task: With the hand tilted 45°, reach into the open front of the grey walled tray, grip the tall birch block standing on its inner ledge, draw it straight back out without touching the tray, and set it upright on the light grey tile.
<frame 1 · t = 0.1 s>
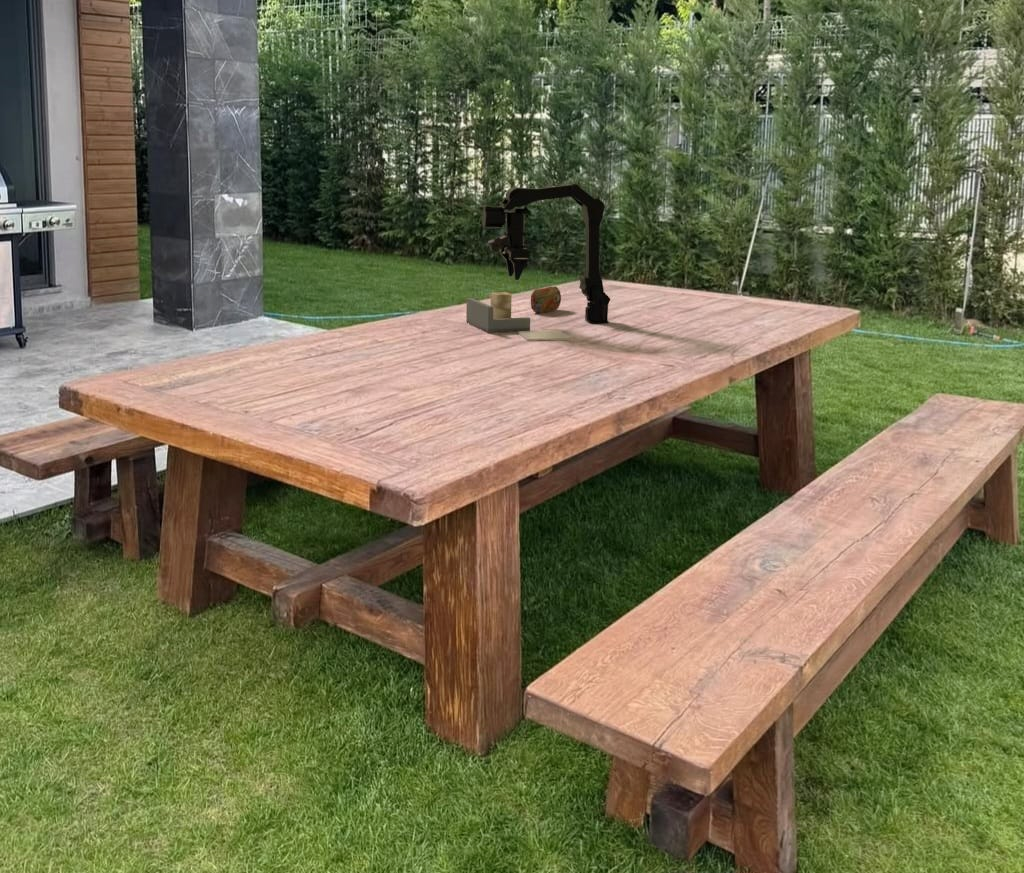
hand: (513, 277, 353), 15 cm above the table, tool pointing down, fingers open, 9 cm apart
block: (500, 318, 349), point 2 cm above the table, touching grey walled tray
grey walled tray: (497, 326, 350), on the table
tin: (545, 312, 381), on the table
tile: (543, 336, 335), on the table
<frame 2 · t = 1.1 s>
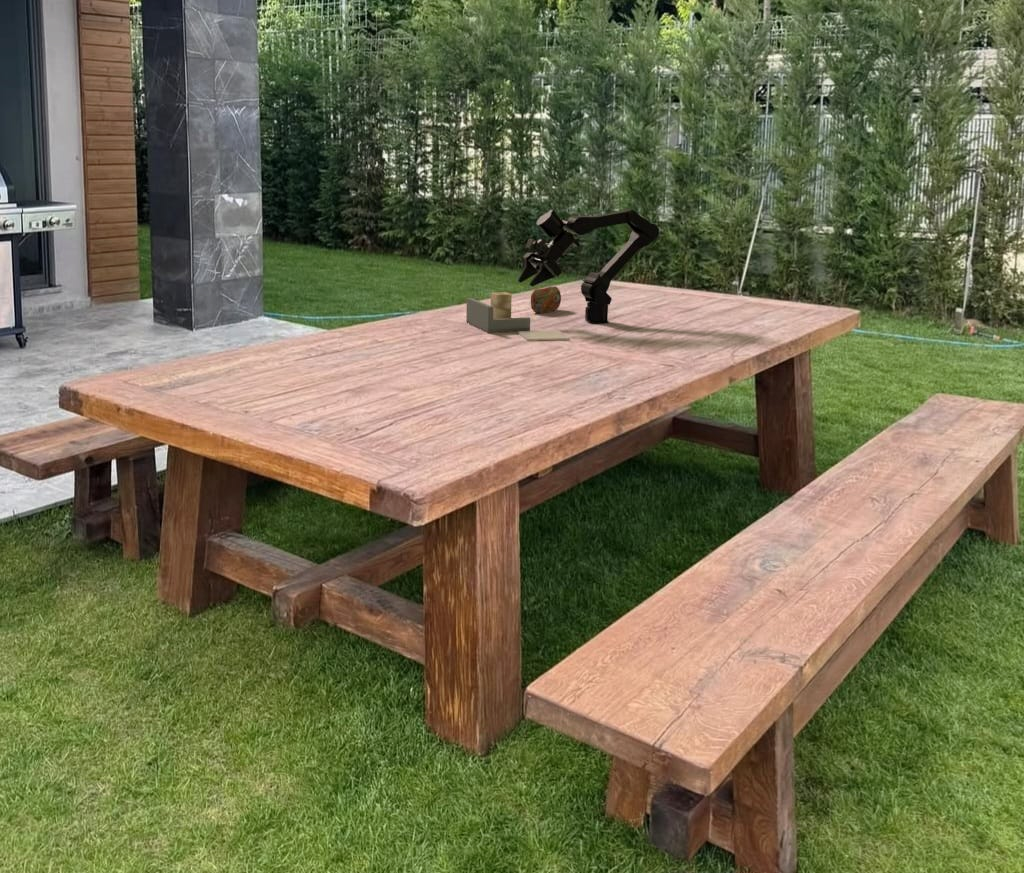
hand: (524, 283, 349), 13 cm above the table, tool tilted 45°, fingers open, 9 cm apart
nothing on the table moved.
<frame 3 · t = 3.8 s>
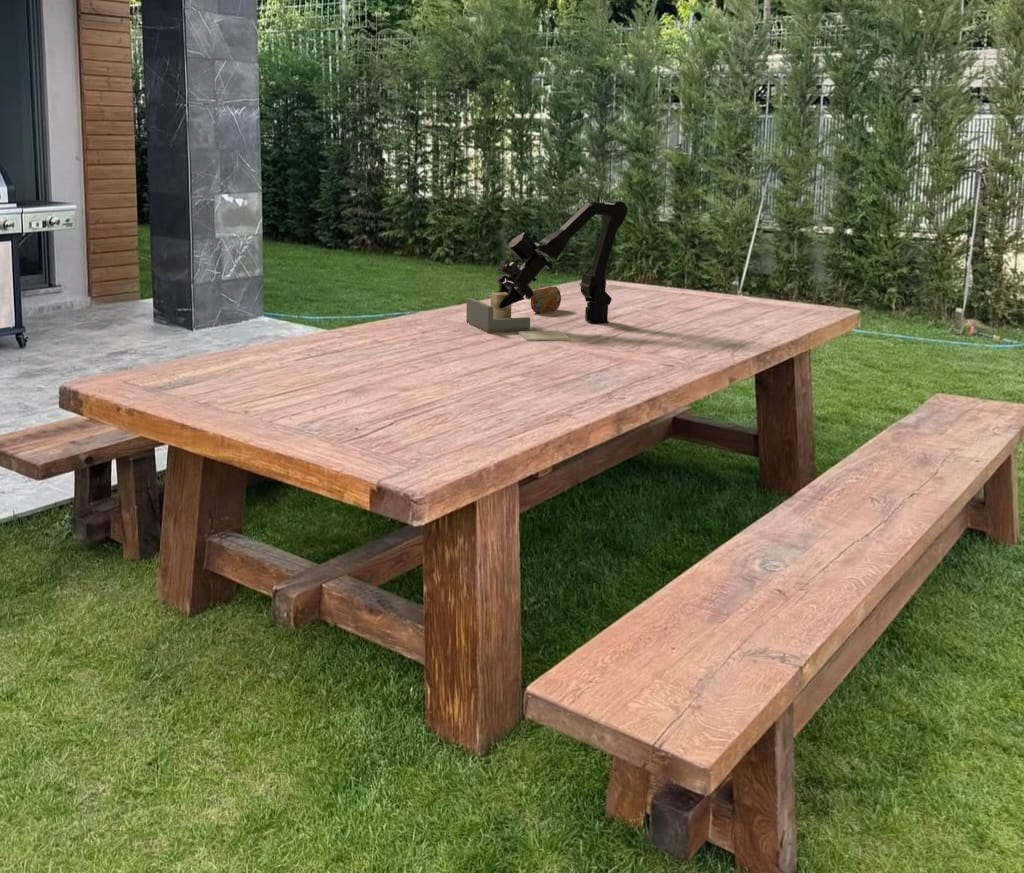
hand: (496, 306, 348), 7 cm above the table, tool tilted 45°, fingers closed on block, 5 cm apart
block: (500, 318, 349), point 2 cm above the table, touching grey walled tray, gripper
everything else where it was.
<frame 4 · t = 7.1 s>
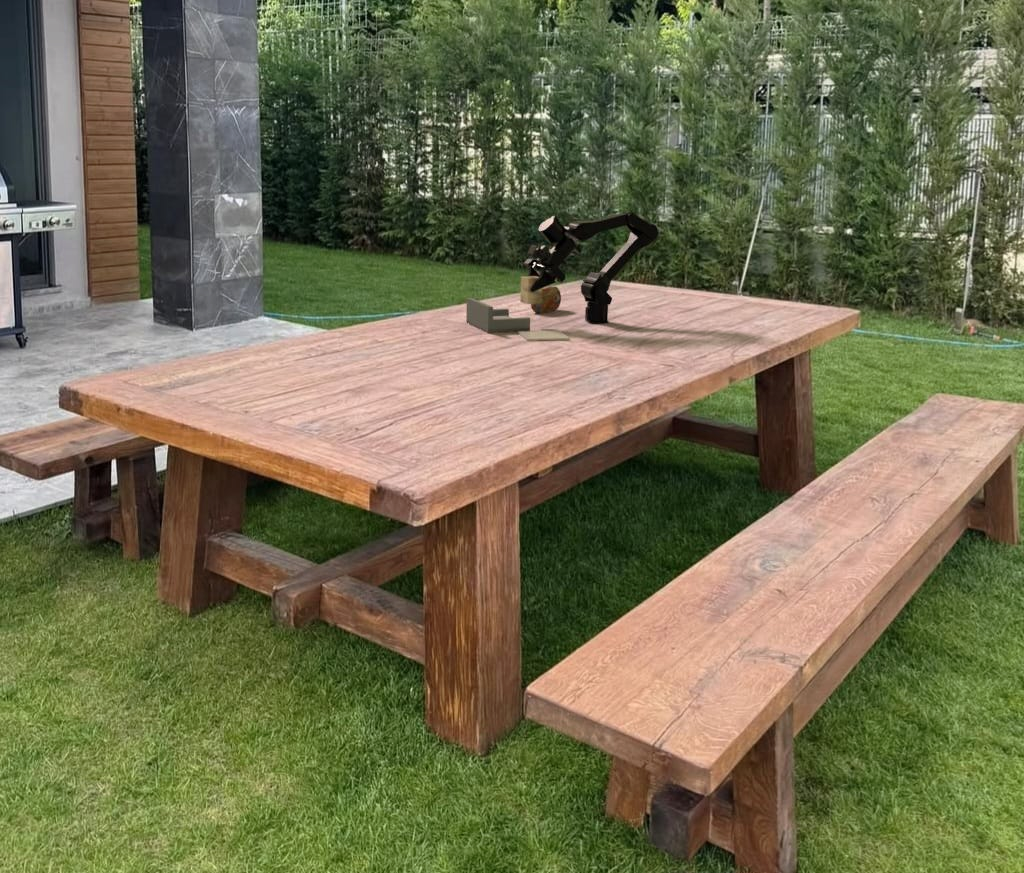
hand: (527, 289, 349), 12 cm above the table, tool tilted 45°, fingers closed on block, 5 cm apart
block: (531, 302, 350), point 8 cm above the table, touching gripper
everything else where it was.
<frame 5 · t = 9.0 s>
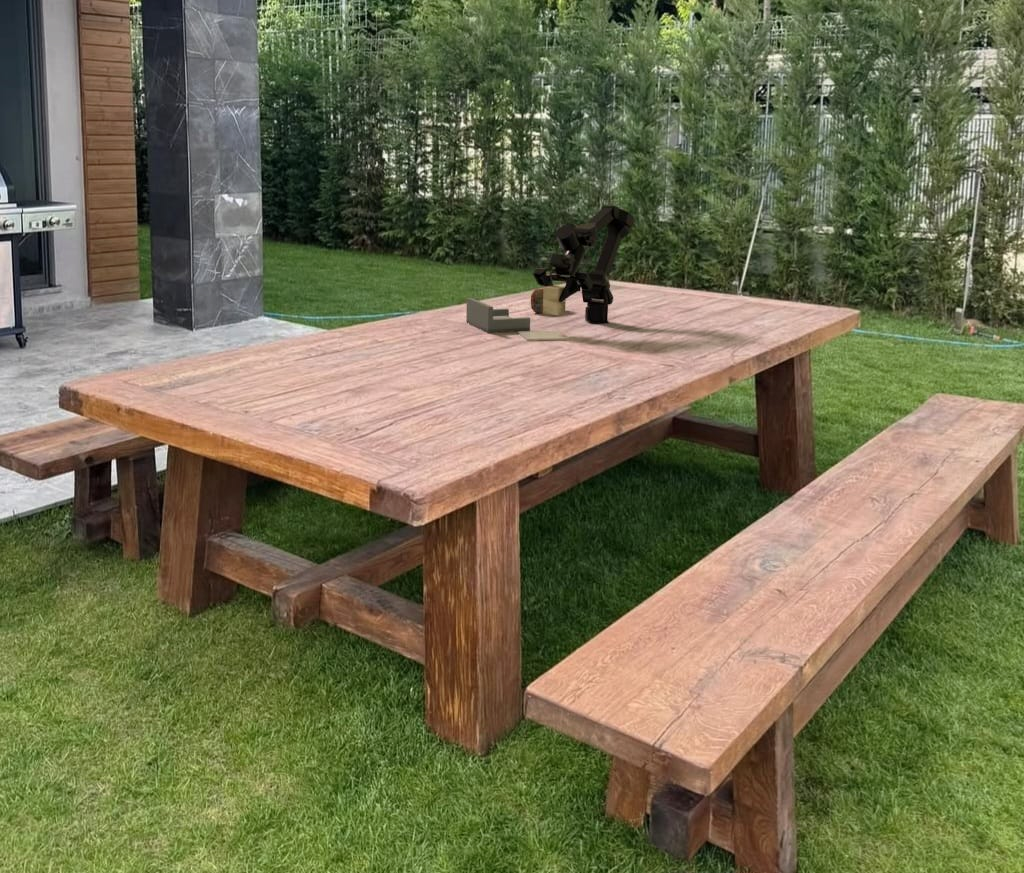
hand: (552, 300, 336), 10 cm above the table, tool tilted 45°, fingers closed on block, 5 cm apart
block: (553, 313, 338), point 6 cm above the table, touching gripper
everything else where it was.
when the fingers open (6 cm above the table, at t = 10.6 s): block drops 2 cm, resting on tile.
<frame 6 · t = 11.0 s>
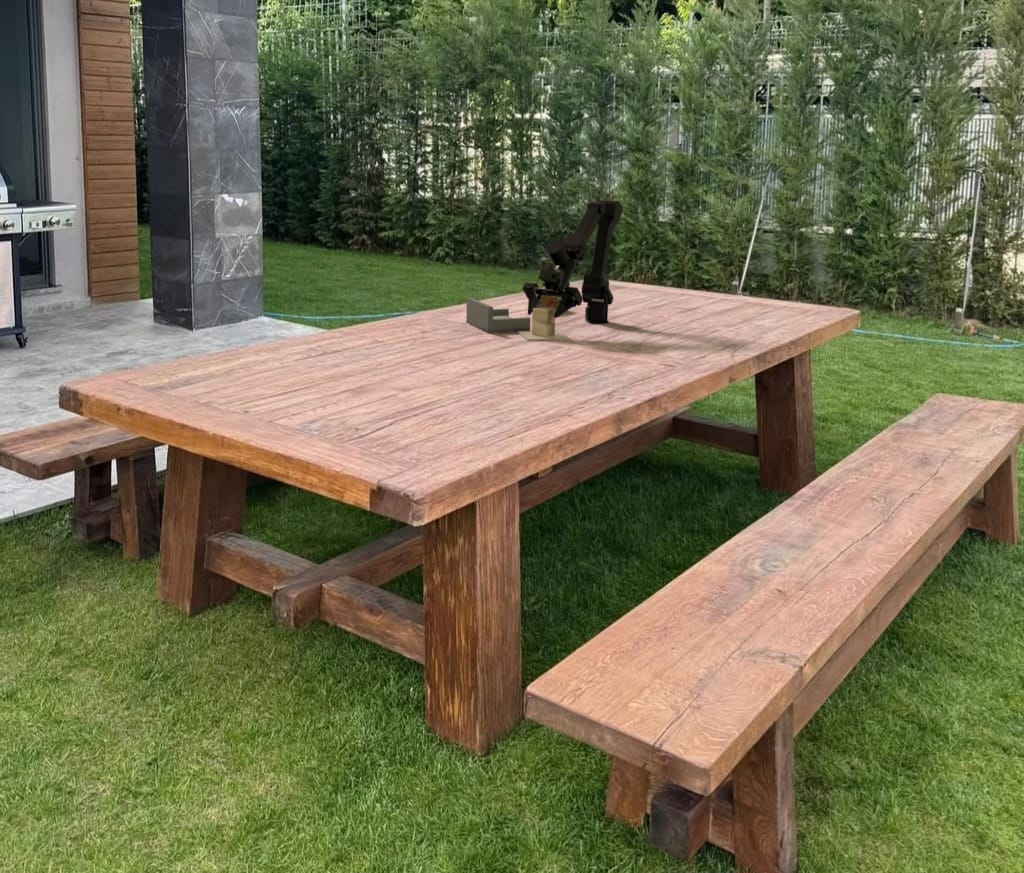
hand: (541, 315, 332), 7 cm above the table, tool tilted 45°, fingers open, 9 cm apart
block: (543, 334, 335), point 1 cm above the table, touching tile
everything else where it was.
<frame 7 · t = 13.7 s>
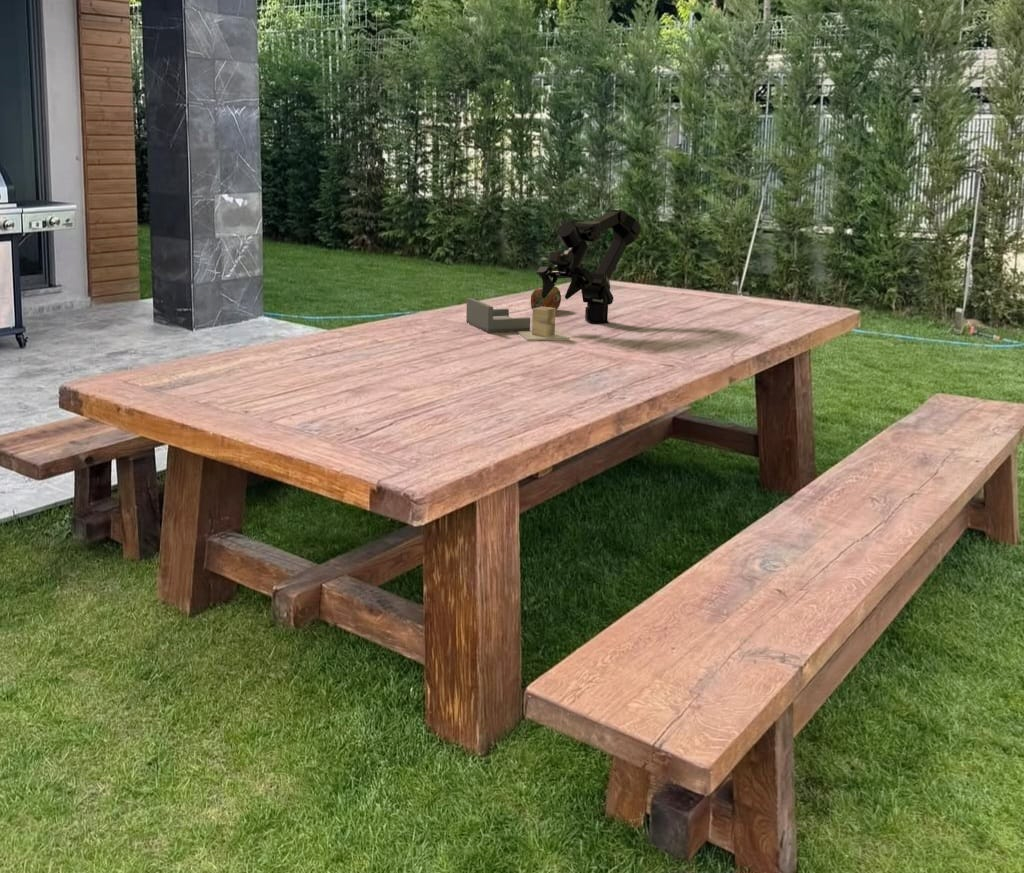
hand: (554, 297, 340), 11 cm above the table, tool tilted 40°, fingers open, 9 cm apart
nothing on the table moved.
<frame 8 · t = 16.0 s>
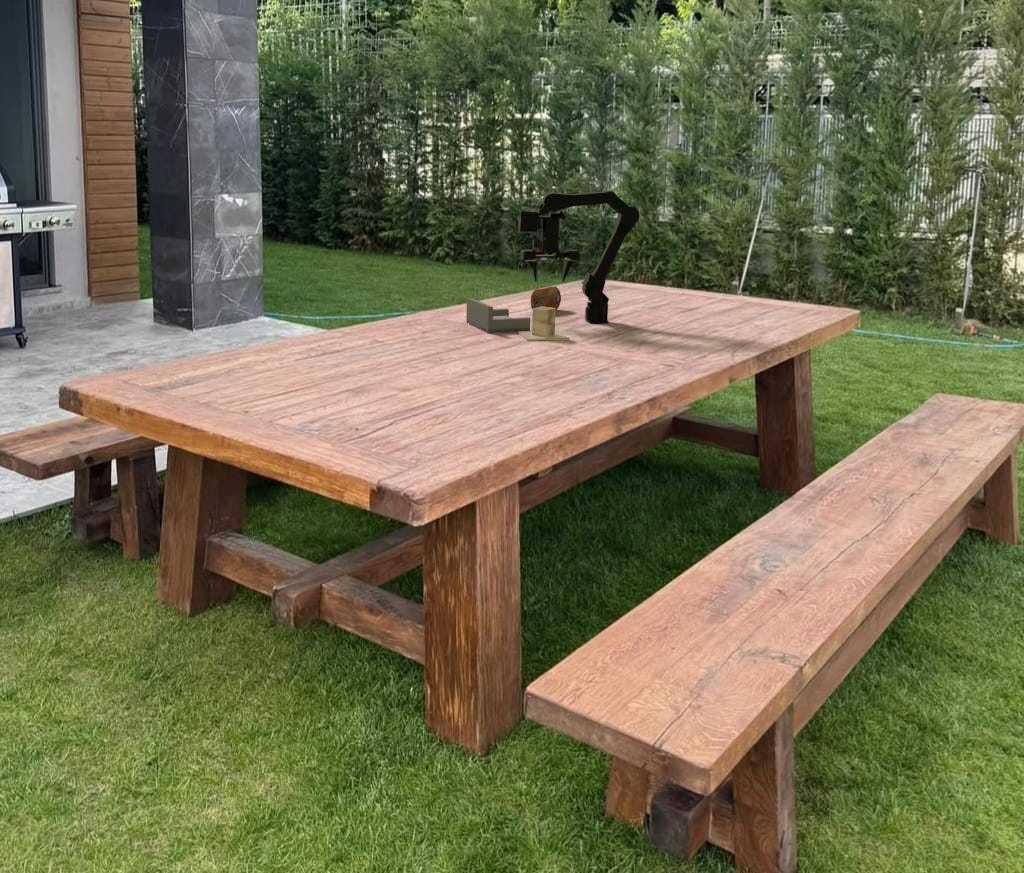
hand: (549, 281, 358), 13 cm above the table, tool pointing down, fingers open, 9 cm apart
nothing on the table moved.
at the end: block inside the target area on the tile (0.0 cm from its centre), point 0.6 cm above the tile's base; block tilted 0°; block touching tile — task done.
